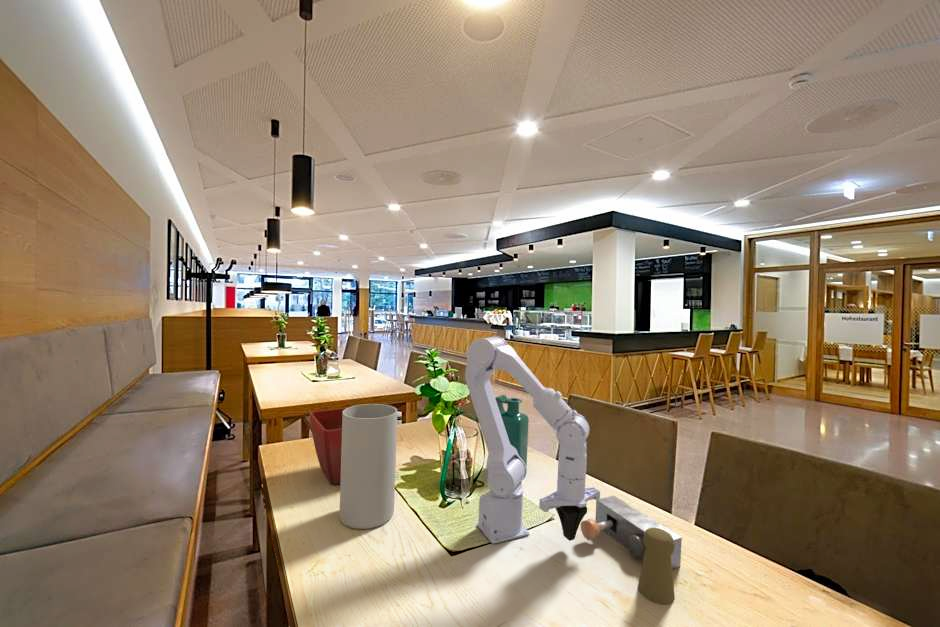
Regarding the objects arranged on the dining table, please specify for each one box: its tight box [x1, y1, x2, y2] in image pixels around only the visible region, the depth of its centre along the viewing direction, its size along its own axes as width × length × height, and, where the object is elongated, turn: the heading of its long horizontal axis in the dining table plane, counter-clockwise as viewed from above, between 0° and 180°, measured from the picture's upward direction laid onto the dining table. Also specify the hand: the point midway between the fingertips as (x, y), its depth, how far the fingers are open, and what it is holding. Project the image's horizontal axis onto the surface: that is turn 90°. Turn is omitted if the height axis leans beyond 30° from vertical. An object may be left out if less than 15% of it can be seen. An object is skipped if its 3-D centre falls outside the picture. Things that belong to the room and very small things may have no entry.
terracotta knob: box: [580, 518, 613, 541], centre depth 86 cm, size 7×4×4 cm, turn 115°
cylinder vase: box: [339, 403, 398, 530], centre depth 92 cm, size 12×12×25 cm
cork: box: [637, 528, 676, 605], centre depth 71 cm, size 6×6×11 cm
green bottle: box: [495, 394, 530, 468], centre depth 122 cm, size 10×8×22 cm
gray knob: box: [626, 534, 646, 557], centre depth 81 cm, size 7×4×4 cm, turn 115°
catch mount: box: [594, 495, 683, 571], centre depth 85 cm, size 6×18×6 cm, turn 25°
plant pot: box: [309, 407, 347, 486], centre depth 114 cm, size 19×19×17 cm
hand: (568, 537), depth 82 cm, fingers closed
